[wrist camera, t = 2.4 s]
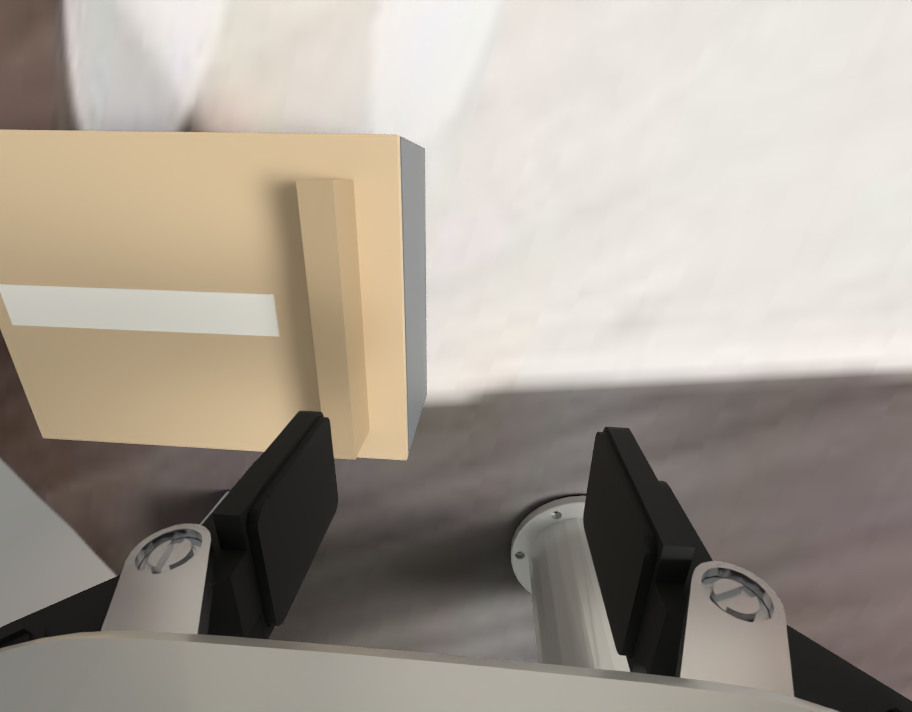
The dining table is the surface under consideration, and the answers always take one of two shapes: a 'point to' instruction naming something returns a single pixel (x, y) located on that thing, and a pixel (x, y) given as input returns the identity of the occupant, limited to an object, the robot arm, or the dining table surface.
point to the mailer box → (414, 278)
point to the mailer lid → (205, 286)
